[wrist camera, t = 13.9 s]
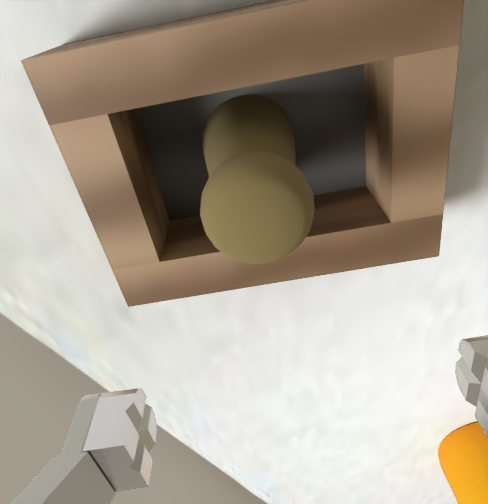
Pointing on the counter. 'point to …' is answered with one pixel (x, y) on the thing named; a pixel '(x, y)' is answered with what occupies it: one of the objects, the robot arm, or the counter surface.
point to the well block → (299, 112)
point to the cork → (253, 182)
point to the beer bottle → (466, 463)
